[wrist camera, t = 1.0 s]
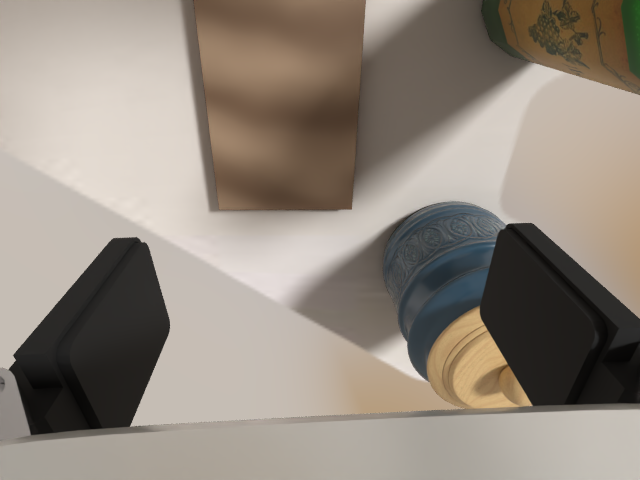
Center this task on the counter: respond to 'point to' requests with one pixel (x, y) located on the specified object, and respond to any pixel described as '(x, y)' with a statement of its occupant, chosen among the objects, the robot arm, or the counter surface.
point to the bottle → (572, 36)
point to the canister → (449, 303)
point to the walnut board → (282, 100)
